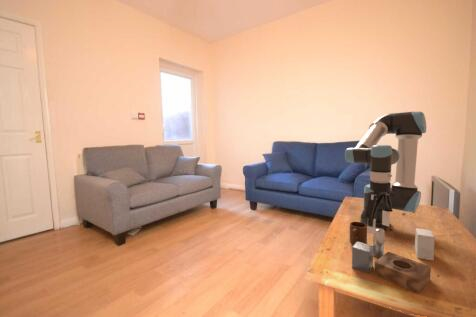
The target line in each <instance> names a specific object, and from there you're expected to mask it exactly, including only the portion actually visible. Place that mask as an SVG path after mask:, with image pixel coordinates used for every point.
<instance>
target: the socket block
mask: <svg viewBox="0 0 476 317" xmlns="http://www.w3.org/2000/svg"><path fill="white" fill-rule="evenodd" d="M373 266H374V270H373V272H374V275H375V276H378V277H380V278H381V279H382V278H383V279H385V280H386V281H389V282H392V283H394V284H396V285H398V286H400V287H402V288H405V289H407V290H410V291H411V292H414V293H416V294H420V292H421V291H422V290H423V288H425V287H426V286H427V284H428V283H429V281H431V272H432V271H431V269H432V267H431V266H430V265H427V264H424V263H421V262H418V261H416V260H413V259H410V258H407V257H405V256H401V255H398V254H396V253H393V252H390V251H387V252H386V253H384V255H383V256H382V257H380V258H378V259H376V260H375V261H374V265H373Z"/></svg>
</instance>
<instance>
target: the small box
mask: <svg viewBox="0 0 476 317" xmlns="http://www.w3.org/2000/svg"><path fill="white" fill-rule="evenodd" d="M414 251H415V252H414V253H415V255H416V258H418V259H420V260H426V261H434V260H435V259H434V258H435V236H434V233H433V232H432V230H431V229H425V228H419V227H417V228H415V236H414Z"/></svg>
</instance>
